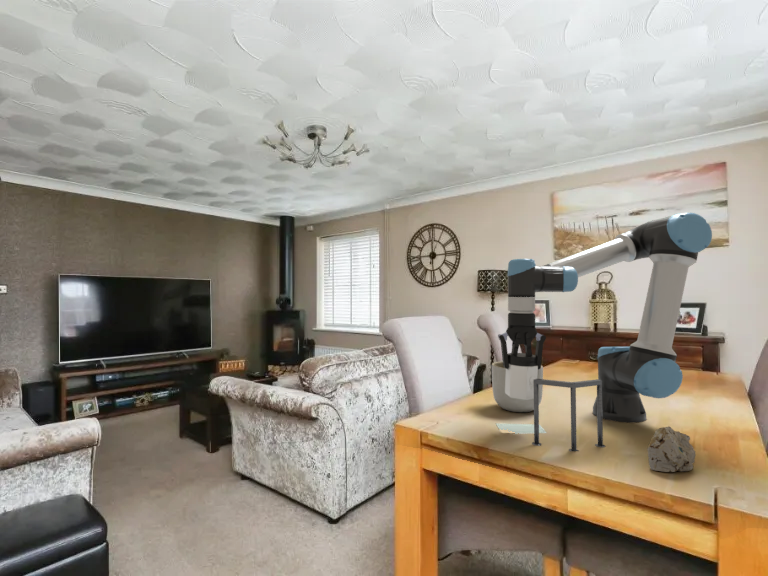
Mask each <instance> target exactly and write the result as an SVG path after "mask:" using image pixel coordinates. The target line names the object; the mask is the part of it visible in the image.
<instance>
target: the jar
mask: <svg viewBox="0 0 768 576" xmlns="http://www.w3.org/2000/svg"><path fill="white" fill-rule="evenodd" d="M508 362H509V368H508V369H506V377H505V393H506V394H507V395H508V396H509V397H510V398H517V399H523V400H529V399H534V382H533V380H534V379H537V376H538V366H537V365H536V363H537V356H535V354H532V356H527V355H526V352H525V353H524V352H518V354H517V355H512V354H511V352H509V353H508Z"/></svg>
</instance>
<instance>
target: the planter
mask: <svg viewBox="0 0 768 576" xmlns="http://www.w3.org/2000/svg"><path fill="white" fill-rule="evenodd" d="M505 377H506V368H505V367H504V366H503V360H502V361H495V362H492V363H491V382H492V383H491V384H492V385H491V387H492V393H493V394H492V395H493V400H494V401H495V402H496V404H497V405H498V406H499V407H500V408H501V409H503V410H505V411H509V412H514V413H528V412H532V411H534V399H529V400H523V399H517V398H510V397H509V396H508V395H507V394H506V393H505ZM537 379H544V366H543V365H542V364H541V368H540V369H538V376H537ZM543 389H544V385H540V384H538V394H539V406H540V404H541V402H542V399H543V391H544V390H543Z"/></svg>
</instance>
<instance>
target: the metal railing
mask: <svg viewBox="0 0 768 576" xmlns="http://www.w3.org/2000/svg"><path fill="white" fill-rule="evenodd" d="M533 382H534V410H533V424H534V433H533V436H534V437H533V442H531V445H533V446H535V447H536V446H538V447H540V446H541V447H542V445H543V444H542V443H541V442H540V433H539V424H540V421H539V420H540V414H539V413H540V412H539V410H540V408H539V407H540V405H539V394H538V384H540V385H543V386H550V387H551V386H552V387H559V388H562V387H563V388H567V389H568V388H570V444H571V446H570V447H571V448H569V449H568V451H569V452H580V450H579V449H577V447H578V446H577V444H578V443H577V392H576V390H577V388H587V387H595V386H596V397H597V416H596V420H597V421H596V422H597V427H596V428H597V429H596V430H597V432H596V433H597V443H595V444H594V446H596V447H597V448H606V445H605V444H604V442H603V441H604V435H603V434H604V433H603V432H604V431H603V429H604V427H603V426H604V425H603V424H604V423H603V418H602V381H601V380H598V379H597V378H596V379H587V380H580V381H564V380H555V379H545V378H543V379H534V380H533Z"/></svg>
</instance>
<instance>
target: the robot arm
mask: <svg viewBox="0 0 768 576" xmlns="http://www.w3.org/2000/svg"><path fill="white" fill-rule="evenodd" d="M712 231H713V230H712V228H711V226H710V223H708V222H707V219H705V218H704V217H703V216H702V215H700V214H698V213H695V212H682V213H674V214H673V215H669V216H665V217H662V218H658V219H653V220H650V221H647V222H645V223H642V224H640V225H637V226H635V227H634V228H632V229H630V230H627V231H625V232H622V233H620V234H617V235H616V236H615V238H614V239H612V240H609V241H607V242H603V243H601V244H598V245H596V246H593V247H591V248H588V249H585V250H582V251H579V252H577V253H574V254H571V255H569V256H566V257H563V258H561V259H557V260H555V261H552V262H549V263H547V264H545V265H544V264H543V265H536V261H535V259H533V258H515V259H511V260H509V261H508V266H507V310H508V312H509V313H508V314H507V329H506V331H505V332H504V333H501V334H498V335H497V338H498V340H499V342H500V350H501V360H502V361H503V366H504V367H505V368H506V369H508V368H509V362H508V354H509V353H508V346H507V340H508V338H509V339H510V340H511V341H512V343H511V352H510V353H511V354H512V355H517V354H518V353H519V347H520V345H523V346H524V352H525V353H526V355H527V356H532V355H533V351H532V342H533V340H534V339H535V340H536V344H535V354H534V355H535V356H537V363H536V365H537V366H538V369H540V368H541V365H542V360H543V359H542V358H543V350H544V349H543V348H544V342H545V341H546V339H547V337H546V335H544V334H541V333H539V332H538V331H537V328H536V314H535V313H534V312H535V311H536V293H568V292H570V293H571V292H574V291H575V290H576V288H577V287H578V284H579V283H578V282H579V278H581V277H583V276H586V275H588V274H591V273H594V272H597V271H600V270H602V269H605V268H608V267H611V266H614V265H616V264H618V263H622V262H627V263H631V262H633V261H636V260H641V259H647V258H649V260H650V261H651V262H652V263H653V265H652V270H651V275H650V280H649V282H648V283H649V284H648V289H647V292H646V297H645V302H644V307H643V311H642V317H641V321H640V326H639V331H638V336H637V340H636V341H634V342H633V343H631V344H629V346H601V347H600V348H598V350H597V358H596V359H597V375H598V376H597V378H598V380H601V381H602V420H608V421H613V422H619V423H642V422H645V421H646V420H647V412H646V409H645V406H644V404H643V401H642V399H641V396H643V397H649V398H654V399H665V398H668V397H670V396H672V395H674V394H675V393H676V392H677V391H678V390H680V387H681V386H682V383H683V371H682V369H681V367H680V365H679V364H678V363H677V353H676V352H675V351H674V349H673V343H674V339H675V335H676V330H677V324H678V319H679V314H680V310H681V306H682V301H683V295H684V291H685V286H686V281H687V276H688V272H689V267H691V266H694V265H695V264H696V263H697V261H698V257H699V253H701V252H702V251H704V250H705V249H707V248H708V247H709V245H710V244H711V242H712V239H713V232H712ZM640 395H641V396H640ZM592 414H593V416H595V417H597V396H596V397H595V399H594V402H593V405H592Z"/></svg>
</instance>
